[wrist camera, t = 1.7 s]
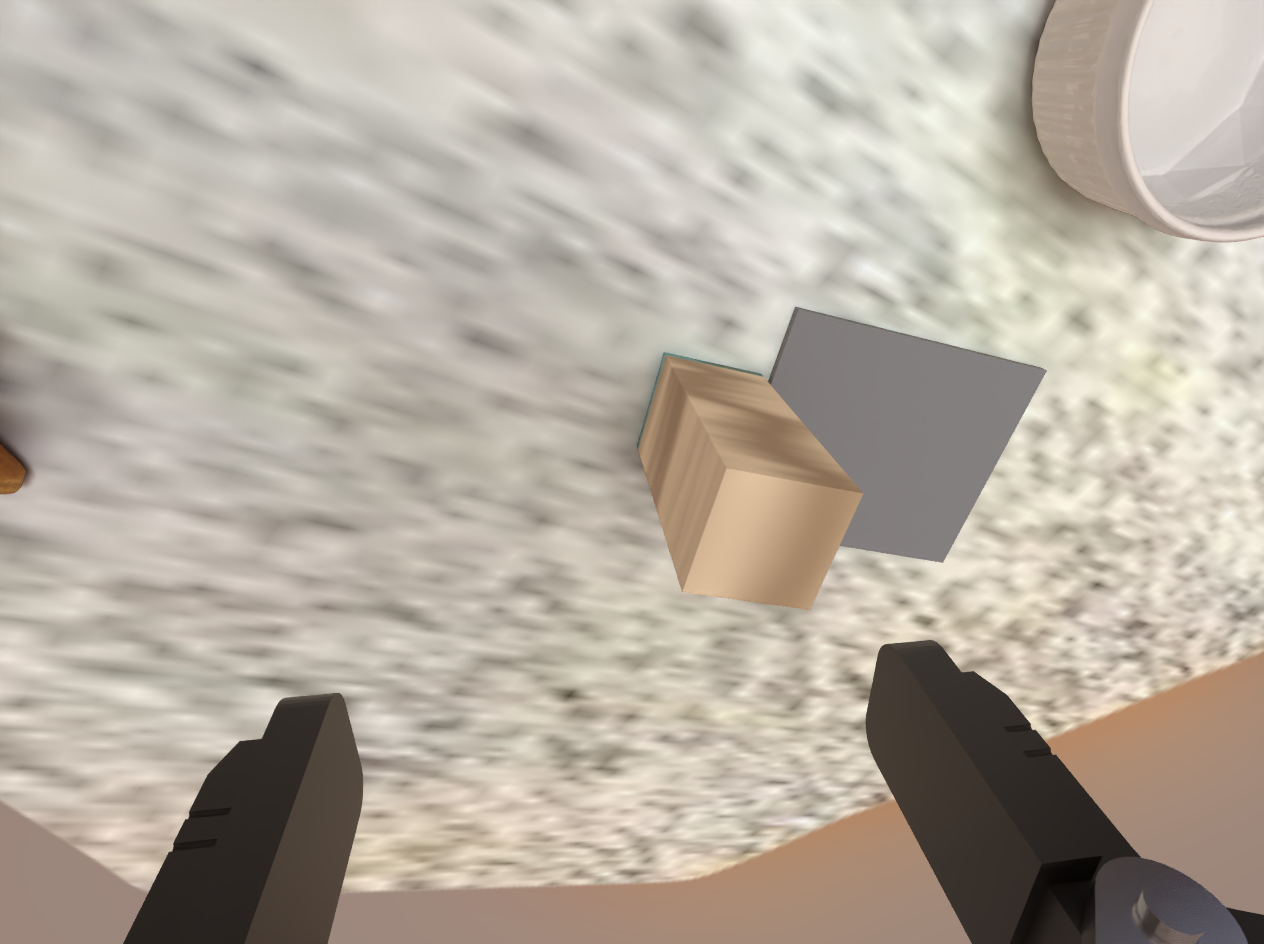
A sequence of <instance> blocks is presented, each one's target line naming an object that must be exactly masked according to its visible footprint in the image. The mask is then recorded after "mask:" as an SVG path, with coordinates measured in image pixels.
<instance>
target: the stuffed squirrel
mask: <svg viewBox="0 0 1264 944" xmlns="http://www.w3.org/2000/svg"><path fill="white" fill-rule="evenodd" d="M24 476H25V469H24V468H23V466H22V465H21V464H20V463H19V462H18V461H17V460H16V459H15V458H14V457H13V456H12V455H11V454H10V453H9V452H8V451H7V450H6V449H5V448H4V447H3V446H2V445H1V444H0V494H12V493H15V492H17V491H18V490H19V489H20V488H21V485H22V483H23V479H24Z"/></svg>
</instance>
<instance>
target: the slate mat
mask: <svg viewBox="0 0 1264 944" xmlns="http://www.w3.org/2000/svg"><path fill="white" fill-rule="evenodd" d="M1045 373H1046V370H1045V369H1043V368H1039V367H1035V366H1031V365H1027V364H1023V363H1019V362H1015V361H1011V360H1007V359H1003V358H999V357H995V356H991V355H987V354H983V353H979V352H975V351H971V350H967V349H963V348H959V347H955V346H951V345H947V344H943V343H939V342H935V341H931V340H927V339H923V338H919V337H915V336H911V335H907V334H902V333H898V332H894V331H890V330H886V329H882V328H878V327H874V326H870V325H866V324H862V323H858V322H854V321H850V320H846V319H842V318H838V317H834V316H830V315H826V314H822V313H818V312H814V311H810V310H806V309H802V308H798V307H796V308H795V311H794V313H793V316H792V319H791V322H790V324H789V327H788V330H787V333H786V335H785V338H784V341H783V344H782V346H781V349H780V352H779V355H778V357H777V360H776V363H775V366H774V368H773V371H772V374H771V377H770V379H769V382H768V383H769V384H770V385H771V386H772V387H773V388H774V390H775V391H776V392H777V393H778V394H779V395H780V397H781V398H782V399H783V400H784V401H785V402H786V404H787V405H788V406H789V407H790V408H791V409H792V411H793V412H794V413H795V414H796V415H797V417H798V418H799V419H800V420H801V421H802V422H803V424H804V425H805V426H806V427H807V428H808V429H809V431H810V432H811V433H812V434H813V435H814V436H815V438H816V439H817V440H818V441H819V442H820V443H821V445H822V446H823V447H824V448H825V449H826V450H827V452H828V453H829V454H830V455H831V456H832V457H833V459H834V460H835V461H836V462H837V463H838V464H839V466H840V467H841V468H842V469H843V470H844V471H845V473H846V474H847V475H848V476H849V477H850V479H851V480H852V481H853V482H854V483H855V484H856V486H857V487H858V488H859V489H860V490H861V491H862V493H863V496H862V498H861V500H860V502H859V504H858V507H857V509H856V511H855V513H854V515H853V517H852V520H851V522H850V524H849V526H848V528H847V530H846V533H845V535H844V537H843V539H842V541H841V544H840V546H845V547H851V548H857V549H863V550H869V551H875V552H881V553H887V554H893V555H900V556H906V557H912V558H918V559H924V560H930V561H936V562H942V563H943V561H944V560H945V558H946V556H947V554H948V552H949V550H950V549H951V547H952V545H953V543H954V541H955V539H956V537H957V536H958V534H959V532H960V530H961V528H962V526H963V525H964V523H965V521H966V519H967V517H968V515H969V513H970V512H971V510H972V508H973V506H974V504H975V502H976V500H977V499H978V497H979V495H980V493H981V491H982V489H983V488H984V486H985V484H986V482H987V480H988V478H989V476H990V475H991V473H992V471H993V469H994V467H995V465H996V464H997V462H998V460H999V458H1000V456H1001V454H1002V452H1003V451H1004V449H1005V447H1006V445H1007V443H1008V441H1009V439H1010V438H1011V436H1012V434H1013V432H1014V430H1015V428H1016V427H1017V425H1018V423H1019V421H1020V419H1021V417H1022V415H1023V414H1024V412H1025V410H1026V408H1027V406H1028V404H1029V403H1030V401H1031V399H1032V397H1033V395H1034V393H1035V391H1036V390H1037V388H1038V386H1039V384H1040V382H1041V380H1042V378H1043V377H1044V375H1045Z"/></svg>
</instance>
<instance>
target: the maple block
mask: <svg viewBox="0 0 1264 944" xmlns="http://www.w3.org/2000/svg"><path fill="white" fill-rule="evenodd" d="M637 448H638V451H639V454H640V457H641V461H642V464H643V467H644V470H645V474H646V477H647V480H648V483H649V486H650V490H651V493H652V496H653V499H654V503H655V506H656V509H657V512H658V515H659V519H660V522H661V525H662V528H663V532H664V535H665V538H666V541H667V544H668V548H669V551H670V554H671V557H672V561H673V564H674V567H675V570H676V573H677V577H678V580H679V583H680V586H681V590H682V592H686V593H693V594H700V595H707V596H714V597H721V598H728V599H736V600H743V601H750V602H757V603H764V604H771V605H779V606H786V607H793V608H800V609H807V610H810V609H811V607H812V604H813V602H814V600H815V598H816V596H817V594H818V591H819V589H820V587H821V585H822V583H823V580H824V578H825V576H826V574H827V572H828V570H829V567H830V565H831V563H832V561H833V559H834V557H835V554H836V552H837V550H838V548H839V546H840V544H841V541H842V539H843V537H844V535H845V533H846V530H847V528H848V526H849V524H850V522H851V520H852V517H853V515H854V513H855V511H856V509H857V507H858V504H859V502H860V500H861V498H862V496H863V493H862V491H861V490H860V489H859V488H858V487H857V486H856V484H855V483H854V482H853V481H852V480H851V479H850V477H849V476H848V475H847V474H846V473H845V471H844V470H843V469H842V468H841V467H840V466H839V464H838V463H837V462H836V461H835V460H834V459H833V457H832V456H831V455H830V454H829V453H828V452H827V450H826V449H825V448H824V447H823V446H822V445H821V443H820V442H819V441H818V440H817V439H816V438H815V436H814V435H813V434H812V433H811V432H810V431H809V429H808V428H807V427H806V426H805V425H804V424H803V422H802V421H801V420H800V419H799V418H798V417H797V415H796V414H795V413H794V412H793V411H792V409H791V408H790V407H789V406H788V405H787V404H786V402H785V401H784V400H783V399H782V398H781V397H780V395H779V394H778V393H777V392H776V391H775V390H774V388H773V387H772V386H771V385H770V384H769V383H768V381H767V380H766V379H765V378H764V377H763V376H762V374H759V373H755V372H750V371H746V370H741V369H737V368H732V367H728V366H723V365H719V364H714V363H709V362H705V361H700V360H696V359H691V358H687V357H682V356H678V355H673V354H669V353H664V355H663V359H662V362H661V365H660V369H659V372H658V376H657V379H656V383H655V386H654V389H653V393H652V396H651V400H650V403H649V407H648V410H647V414H646V417H645V420H644V424H643V427H642V431H641V434H640V438H639V441H638V444H637Z"/></svg>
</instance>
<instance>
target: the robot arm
mask: <svg viewBox="0 0 1264 944" xmlns="http://www.w3.org/2000/svg"><path fill="white" fill-rule="evenodd" d="M866 733H867V739H868V743H869V747H870V750H871V753H872V755H873V758H874V760H875V762H876V764H877V766H878V768H879V769H880V771H881V773H882V775H883V777H884V779H885V781H886V783H887V785H888V786H889V788H890V790H891V792H892V794H893V796H894V798H895V800H896V802H897V803H898V805H899V807H900V809H901V811H902V813H903V815H904V817H905V818H906V820H907V822H908V824H909V826H910V828H911V830H912V832H913V834H914V835H915V837H916V839H917V841H918V843H919V845H920V847H921V849H922V851H923V852H924V854H925V856H926V858H927V860H928V862H929V864H930V866H931V868H932V869H933V871H934V873H935V875H936V877H937V878H938V881H939V882H940V884H941V886H942V888H943V890H944V892H945V894H946V896H947V898H948V900H949V901H950V903H951V905H952V907H953V909H954V911H955V913H956V915H957V916H958V918H959V920H960V922H961V924H962V926H963V928H964V930H965V932H966V933H967V935H968V937H969V939H970V941H971V943H972V944H1264V915H1261V914H1256V913H1250V912H1245V911H1240V910H1235V909H1231V908H1227V907H1225V906H1224V905H1223V904H1222V903H1221V902H1220V901H1219V900H1218V899H1217V898H1216V897H1215V896H1214V895H1213V894H1212V893H1210V892H1209V891H1208V890H1206V889H1205V888H1204V887H1203V886H1202V885H1200V884H1199V883H1197V882H1196V881H1194V880H1193V879H1191V878H1190V877H1188V876H1187V875H1185V874H1183V873H1181V872H1180V871H1178V870H1176V869H1174V868H1171V867H1169V866H1167V865H1165V864H1162V863H1159V862H1156V861H1153V860H1149V859H1144V858H1141V857H1140V856H1139V855H1138V853H1137V852H1136V851H1135V850H1134V849H1133V848H1132V847H1131V846H1130V844H1129V843H1128V842H1127V841H1126V839H1125V838H1124V837H1123V836H1122V835H1121V833H1120V832H1119V831H1118V830H1117V829H1116V827H1115V826H1114V825H1113V824H1112V822H1111V821H1110V820H1109V819H1108V818H1107V816H1106V815H1105V814H1104V813H1103V811H1102V810H1101V809H1100V808H1099V807H1098V805H1097V804H1096V803H1095V802H1094V801H1093V799H1092V798H1091V797H1090V796H1089V794H1088V793H1087V792H1086V791H1085V790H1084V788H1083V787H1082V786H1081V785H1080V783H1079V782H1078V781H1077V780H1076V779H1075V778H1074V776H1073V775H1072V774H1071V772H1070V771H1069V770H1068V769H1067V768H1066V766H1065V765H1064V764H1063V763H1062V762H1061V760H1060V759H1059V758H1058V757H1057V755H1052V753H1051V750H1050V749H1051V748H1050V747H1049V746H1048V744H1047V743H1046V742H1045V741H1044V740H1043V738H1042V737H1041V736H1040V735H1039V733H1038V732H1037V731H1036V730H1032V729H1031V724H1030V722H1029V721H1028V720H1027V719H1026V718H1025V716H1024V715H1023V714H1022V713H1021V712H1020V710H1019V709H1018V708H1017V707H1016V705H1015V704H1014V703H1013V702H1012V701H1011V699H1010V698H1009V697H1008V696H1007V695H1006V694H1005V693H1003V692H1002V691H1001V690H999V689H998V688H996V687H995V686H994V685H992V684H991V683H989V682H988V681H987V680H985V679H984V678H982V677H981V676H979V675H978V674H977V673H975V672H974V671H972V672H961V671H960V670H959V668H958V667H957V666H956V665H955V663H954V662H953V661H952V659H951V658H950V657H949V656H948V654H947V653H946V652H945V650H944V649H943V648H942V647H941V646H940V645H939V644H938V643H937V642H935V641H932V640H927V641H916V642H905V643H894V644H885V645H883V646H882V647H881V648H880V650H879V653H878V657H877V662H876V667H875V672H874V678H873V683H872V688H871V693H870V698H869V703H868V708H867V714H866ZM362 799H363V773H362V767H361V762H360V759H359V755H358V751H357V747H356V743H355V739H354V735H353V731H352V728H351V724H350V720H349V716H348V712H347V708H346V704H345V701H344V699H343V697H342V695H341V694H339V693H332V694H321V695H310V696H300V697H289V698H283V699H282V700H281V701H280V702H279V703H278V704H277V706H276V708H275V710H274V712H273V715H272V717H271V719H270V722H269V724H268V726H267V728H266V731H265V733H264V735H263V737H262V739H257V740H247V741H239V743H238V744H237V745H236V746H235V747H234V748H233V749H232V750H231V751H230V752H229V753H228V754H227V755H226V756H225V757H224V758H223V759H222V760H221V761H220V762H219V763H218V764H217V765H216V766H215V768H214V769H213V770H212V771H211V772H210V773H209V774H208V775H207V777H206V779H205V781H204V783H203V785H202V787H201V789H200V791H199V793H198V795H197V797H196V799H195V801H194V803H193V805H192V807H191V809H190V811H189V818H188V819H185V821H184V823H183V825H182V827H181V829H180V831H179V833H178V835H177V837H176V839H175V841H174V843H173V845H174V847H173V851H172V852H169V853H168V855H167V857H166V859H165V861H164V863H163V865H162V867H161V869H160V871H159V873H158V875H157V877H156V879H155V881H154V883H153V885H152V887H151V889H150V891H149V893H148V895H147V897H146V899H145V901H144V903H143V905H142V907H141V909H140V911H139V913H138V915H137V917H136V919H135V921H134V923H133V925H132V927H131V929H130V931H129V933H128V935H127V937H126V939H125V941H124V943H123V944H327V943H328V940H329V936H330V931H331V928H332V923H333V920H334V916H335V912H336V907H337V904H338V900H339V896H340V892H341V888H342V884H343V880H344V876H345V872H346V868H347V864H348V860H349V856H350V852H351V849H352V845H353V841H354V837H355V833H356V829H357V825H358V821H359V817H360V812H361V807H362Z"/></svg>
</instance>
